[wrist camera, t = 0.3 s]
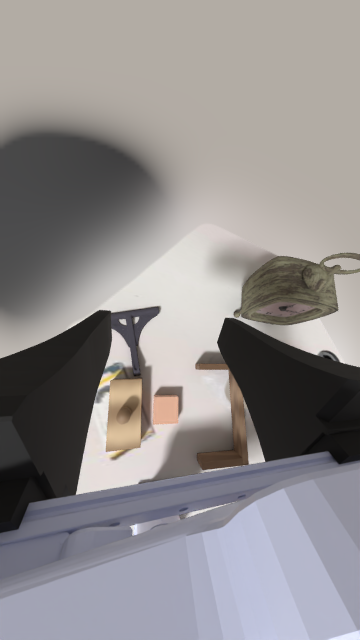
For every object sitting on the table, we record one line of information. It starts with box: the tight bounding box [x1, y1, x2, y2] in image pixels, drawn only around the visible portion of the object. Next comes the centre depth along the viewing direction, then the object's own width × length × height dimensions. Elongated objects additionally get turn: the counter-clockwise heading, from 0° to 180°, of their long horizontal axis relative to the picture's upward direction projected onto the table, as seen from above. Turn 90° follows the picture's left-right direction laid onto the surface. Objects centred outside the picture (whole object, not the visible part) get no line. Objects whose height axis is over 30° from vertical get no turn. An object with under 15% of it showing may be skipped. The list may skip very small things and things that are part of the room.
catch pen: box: [195, 364, 249, 470], centre depth 37 cm, size 19×10×4 cm, turn 0°
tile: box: [153, 395, 178, 424], centre depth 36 cm, size 5×5×2 cm
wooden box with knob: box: [106, 378, 142, 452], centre depth 33 cm, size 12×6×6 cm, turn 2°
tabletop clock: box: [234, 253, 360, 325], centre depth 35 cm, size 14×9×25 cm, turn 82°
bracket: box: [111, 307, 159, 376], centre depth 38 cm, size 14×15×3 cm
